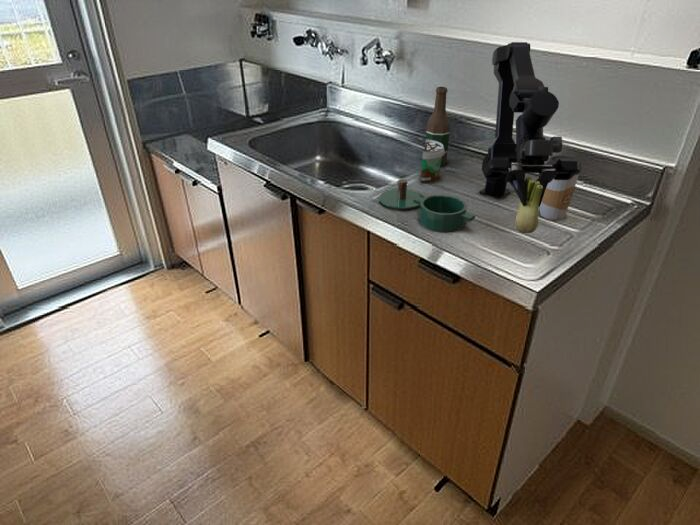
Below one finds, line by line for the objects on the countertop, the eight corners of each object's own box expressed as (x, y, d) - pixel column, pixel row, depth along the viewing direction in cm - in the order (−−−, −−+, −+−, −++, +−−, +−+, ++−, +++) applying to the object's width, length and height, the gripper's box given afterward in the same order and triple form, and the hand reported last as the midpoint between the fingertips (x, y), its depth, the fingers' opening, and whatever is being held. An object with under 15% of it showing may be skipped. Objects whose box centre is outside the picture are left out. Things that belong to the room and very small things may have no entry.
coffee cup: (552, 225, 125) (566, 168, 117) (528, 212, 131) (539, 158, 123) (575, 218, 128) (590, 163, 120) (551, 205, 134) (563, 152, 126)
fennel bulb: (512, 222, 114) (522, 174, 107) (535, 224, 113) (546, 176, 106) (514, 235, 109) (524, 185, 102) (537, 237, 108) (549, 187, 101)
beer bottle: (441, 169, 157) (449, 91, 144) (419, 164, 161) (424, 88, 148) (450, 161, 163) (458, 86, 150) (428, 157, 166) (435, 83, 154)
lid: (396, 188, 144) (397, 168, 141) (432, 200, 137) (434, 180, 134) (370, 202, 136) (370, 181, 133) (406, 215, 130) (408, 194, 126)
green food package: (441, 186, 146) (444, 153, 140) (420, 184, 147) (422, 152, 141) (442, 170, 156) (446, 140, 151) (423, 169, 157) (425, 138, 152)
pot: (426, 204, 135) (428, 188, 132) (481, 223, 126) (484, 206, 123) (402, 219, 128) (403, 202, 125) (458, 240, 118) (461, 222, 116)
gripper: (495, 120, 102) (496, 191, 99) (588, 121, 101) (592, 194, 97) (484, 144, 113) (484, 209, 109) (567, 146, 112) (570, 211, 108)
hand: (531, 206), depth 106 cm, fingers closed on fennel bulb, 2 cm apart
